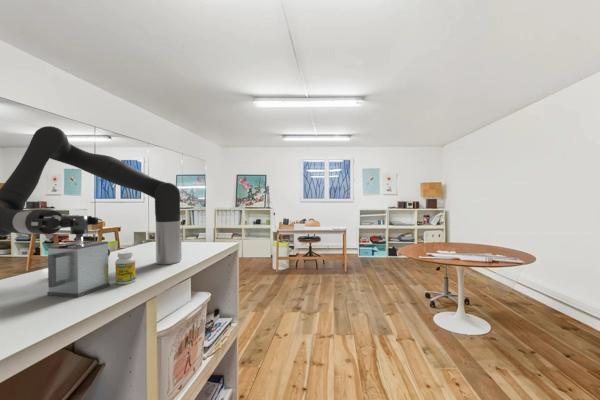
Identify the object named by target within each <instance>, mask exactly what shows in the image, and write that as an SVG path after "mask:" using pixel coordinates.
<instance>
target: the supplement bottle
mask: <svg viewBox="0 0 600 400" xmlns="http://www.w3.org/2000/svg"><path fill="white" fill-rule="evenodd" d="M133 253H134V252H133V251H132V250H129V251H128V250H126V251H120V252H118V253H117V258H118V259H116V261H115V283H116V284H117V285H129V284H132V283H134V282H136V278H137V277H136V276H137V275H136V259H135V257H133V256H134V255H133Z"/></svg>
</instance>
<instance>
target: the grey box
mask: <svg viewBox="0 0 600 400" xmlns="http://www.w3.org/2000/svg"><path fill="white" fill-rule="evenodd" d="M108 249H109V241H100V240H98V241H92V243H91V240H83V244H80V245H76V241H73V242H72V241H71V242H67V243H60V244H55V245H54V244H53V245H48V246H47V250H48V251H47V253H48V254H47V269H48V270H47V273H48V274H47V275H48V276H47V277H48V284H47V286H48V291H47V292H46V296H48V297H63V298H66V297H67V298H80V297H83V296H85V295H88V294H91V293H94V292H96V291H100V290H102V289H104V288H107V287H110V284H111V283H110V282H109V257H108Z"/></svg>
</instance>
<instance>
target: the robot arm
mask: <svg viewBox="0 0 600 400" xmlns="http://www.w3.org/2000/svg"><path fill="white" fill-rule="evenodd" d="M50 159H51V160H54V161H57V162H61V163H63V164H65V165H69V166H72V167H75V168H78V169H80V170H83V171H84V172H86V173H89V174H90V175H94V176H96V177H99V178H100V179H102V180H104V181H107V182H109V183H112V184H114V185H117V186H120V187H123V188H126V189H129V190H133V191H137V192H141V193H143V194H144V195H147V196H149V197H150V198H153V199H154V214H155V215H154V217H155V264H156V265H173V264H176V263H180V262H181V260H182V238H181V192H180V188H179V187H178V186H177V185H176V184H174V183H171V182H166V181H162V180H159V179H157V178H154V177H152V176H149V175H148V174H146V173H144V172H142V171H141V170H139V169H137V167H134V166H132V165H131V164H128V163H127V162H124V161H121V160H120V159H117V158H115V157H113V156H109V155H105V154H97V153H92V152H88V151H85V150H83V149H81V148H79V147H77V146H75V145H73V144H71V143H70V142H69V140H68V137H67V135H66V133H65V132H64V131H63V130H62V129H61V128H58V127H57V126H56V127H55V126H53V125H52V126H51V125H50V126H49V125H48V126H42V127H40V128H38V129H37V130H36V131H35V132H34V134H33V135H32V137H31V139H30V142H29V144H28V146H27V148H26V150H25V152H24V153H23V156H22V158H21V160H20V161H19V162H18V164H17V166H16V167H15V169H14V170H13V171H12V173H11V174H10V176H9V177H8V178H7V180H5V182H4V183H3V185H2V186H1V188H0V204H1V205H2V206H3V207H2V206H0V237H4V236H8V235H9V234H13V233H14V234H27V235H53V234H56V233H57V232H59V231H60V230H61V229H67V228H70V227H75V226H76V220H75V219H70V216H80V215H78V214H77V215H76V214H73V215H69V214H62V213H61V212H60V211H59V210H56V209H54V208H29V209H24V207H25V204H26V203H27V202H28V200H29V199H30V197H31V195H32V194H33V192H34V191H35V189H36V188H37V186H38V184H39V181H40V178H41V177H42V173H43V171H44V168H45V166H46V164H47V163H48V162H49V160H50ZM87 216H88V226H90V225H92V226H94V225H95V226H96V225H98V224H99V217H97V216H95V217H94V216H92V215H87Z"/></svg>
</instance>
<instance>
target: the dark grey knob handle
mask: <svg viewBox="0 0 600 400" xmlns="http://www.w3.org/2000/svg"><path fill="white" fill-rule="evenodd" d="M88 216H89V215H79V216H70V219H75V220H76V226H75V227H69V228H70V229H69V230H70V231H69V232H70V235H75V242H76V245H80V244H83V241H84V235H85V234H89V225H88Z"/></svg>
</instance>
